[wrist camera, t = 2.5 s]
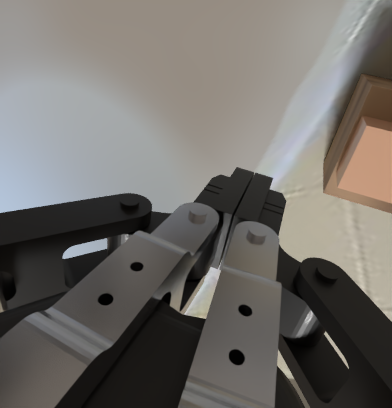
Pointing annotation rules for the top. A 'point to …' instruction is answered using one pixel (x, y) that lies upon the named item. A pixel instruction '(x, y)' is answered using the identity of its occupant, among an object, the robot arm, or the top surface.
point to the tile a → (368, 160)
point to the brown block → (359, 105)
